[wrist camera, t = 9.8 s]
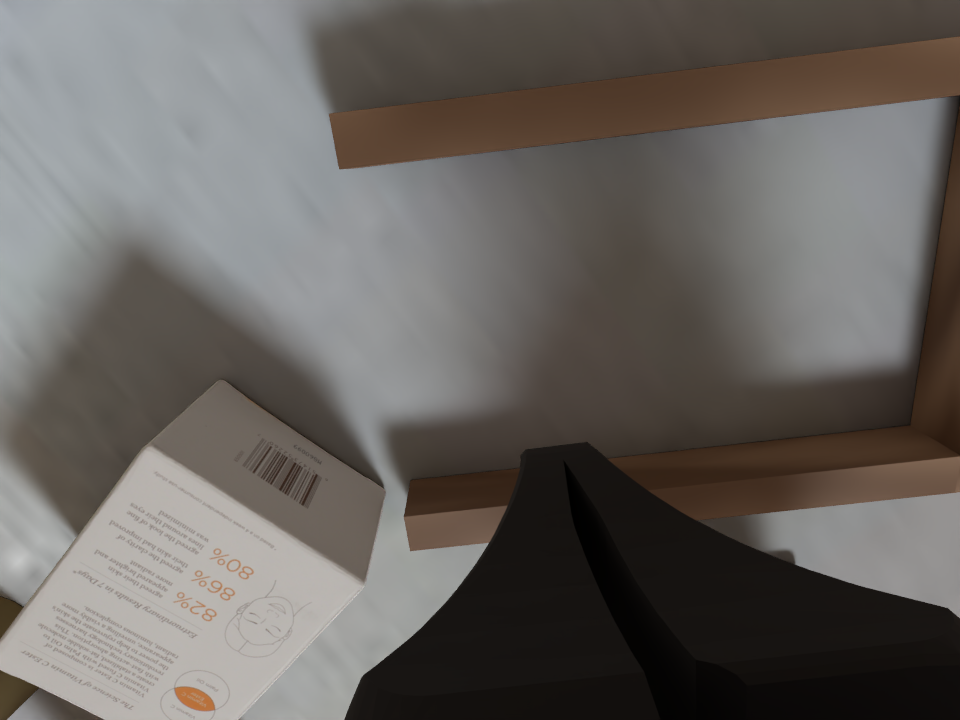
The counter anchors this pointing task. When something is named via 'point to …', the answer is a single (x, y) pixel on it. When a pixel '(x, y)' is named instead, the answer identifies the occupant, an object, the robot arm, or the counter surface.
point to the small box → (200, 570)
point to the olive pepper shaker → (4, 690)
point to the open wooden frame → (686, 104)
